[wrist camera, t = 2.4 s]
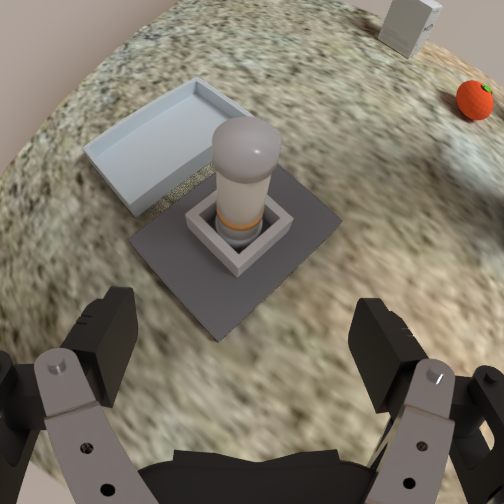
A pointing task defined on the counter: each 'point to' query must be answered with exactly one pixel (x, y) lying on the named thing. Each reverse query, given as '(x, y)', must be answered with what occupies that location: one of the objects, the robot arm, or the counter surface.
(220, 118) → the tray
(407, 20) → the supplement box
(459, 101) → the clementine
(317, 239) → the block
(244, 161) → the white bottle
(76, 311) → the counter surface
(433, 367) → the robot arm
